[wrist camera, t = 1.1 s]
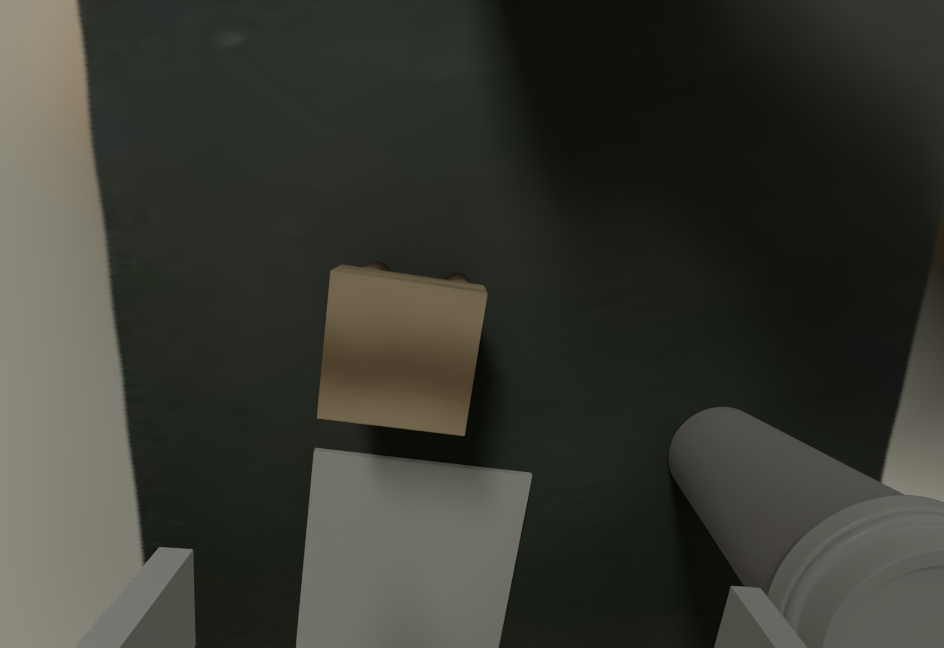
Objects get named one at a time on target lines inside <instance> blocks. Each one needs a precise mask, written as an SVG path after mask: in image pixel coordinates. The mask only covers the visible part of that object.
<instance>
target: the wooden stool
mask: <svg viewBox="0 0 944 648" xmlns="http://www.w3.org/2000/svg"><path fill="white" fill-rule="evenodd" d="M486 299H487V291H486V289H485V287H484V285H478V284H472V283H471V282H470V280H469V279H468V278H467V277H466V276H464V275H462V274H451V275H449V276H448V277H447V278H446V279H445V280H444V279H437V278H430V277H423V276H416V275H409V274H403V273H396V272H391V271H390V269H389V268H388V267H387V266H386V265H385V264H383V263H381V262H371V263H369V264H367V265H366V266H364V267H363V268H361V267H354V266H347V265H341V266H339V267H337V268H335V269H333V270H331V272H330V283H329V294H328V304H327V315H326V326H325V337H324V348H323V359H322V369H321V380H320V391H319V402H318V413H317V418H319V419H328V420H336V421H344V422H353V423H361V424H369V425H377V426H386V427H394V428H402V429H411V430H419V431H427V432H435V433H444V434H452V435H460V436H465V430H466V424H467V417H468V411H469V405H470V399H471V393H472V386H473V380H474V374H475V368H476V361H477V355H478V349H479V343H480V337H481V330H482V324H483V318H484V312H485V305H486Z"/></svg>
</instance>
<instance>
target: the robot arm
mask: <svg viewBox="0 0 944 648" xmlns="http://www.w3.org/2000/svg"><path fill="white" fill-rule="evenodd" d="M194 647H195V608H194V566H193V550H192V549H178V548H163V547H159V548H158V550H157V551H156V552H155V553H154V554H153V555H152V557H151V558H150V559H149V560H148V561H147V563H146V564H145V565H144V566H143V567H142V568H141V570H140V571H139V572H138V573H137V574H136V576H135V577H134V578H133V579H132V580H131V582H130V583H129V584H128V585H127V586H126V587H125V588H124V590H123V591H122V592H121V593H120V594H119V596H118V597H117V598H116V599H115V600H114V602H113V603H112V604H111V605H110V606H109V607H108V608H107V610H106V611H105V612H104V613H103V614H102V616H101V617H100V618H99V619H98V620H97V621H96V623H95V624H94V625H93V626H92V627H91V629H90V630H89V631H88V632H87V633H86V635H85V636H84V637H83V638H82V639H81V640H80V641H79V643H78V644H77V645H76V646H75V647H74V648H194ZM714 648H807V646H806V645H805V644H804V642H803V641H802V640H801V639H800V637H799V636H798V635H797V634H796V632H795V631H794V630H793V629H792V627H791V626H790V625H789V624H788V622H787V621H786V620H785V619H784V617H783V616H782V615H781V614H780V612H779V611H778V610H777V608H776V607H775V606H774V605H773V603H772V602H771V601H770V600H769V598H768V597H767V596H766V595H765V593H764V592H763V591H762V590H761V588H754V587H740V586H731V587H730V591H729V595H728V598H727V602H726V606H725V610H724V613H723V617H722V621H721V624H720V628H719V632H718V635H717V639H716V643H715V647H714Z"/></svg>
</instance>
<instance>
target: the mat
mask: <svg viewBox="0 0 944 648" xmlns="http://www.w3.org/2000/svg"><path fill="white" fill-rule="evenodd" d="M531 479H532V474H531V473H528V472H520V471H511V470H502V469H494V468H485V467H476V466H468V465H459V464H451V463H442V462H433V461H425V460H416V459H408V458H399V457H390V456H382V455H373V454H364V453H356V452H347V451H339V450H330V449H321V448H315V450H314V457H313V468H312V478H311V489H310V500H309V511H308V522H307V533H306V544H305V554H304V565H303V576H302V587H301V598H300V609H299V619H298V630H297V641H296V648H499V643H500V638H501V633H502V628H503V623H504V618H505V613H506V608H507V602H508V597H509V592H510V587H511V582H512V577H513V572H514V567H515V561H516V556H517V551H518V546H519V541H520V536H521V531H522V526H523V520H524V515H525V510H526V505H527V500H528V495H529V490H530V485H531Z"/></svg>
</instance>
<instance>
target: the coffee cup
mask: <svg viewBox="0 0 944 648" xmlns="http://www.w3.org/2000/svg"><path fill="white" fill-rule="evenodd" d="M668 463H669V468H670V471H671V474H672V476H673V477H674V479H675V481H676V482H677V484H678V485H679V487H680V488H681V490H682V491H683V493H684V494H685V496H686V498H687V499H688V501H689V502H690V504H691V505H692V507H693V508H694V510H695V511H696V513H697V514H698V516H699V517H700V519H701V521H702V522H703V524H704V525H705V527H706V528H707V530H708V531H709V533H710V534H711V536H712V537H713V539H714V540H715V542H716V544H717V545H718V547H719V548H720V550H721V551H722V553H723V554H724V556H725V557H726V559H727V560H728V562H729V564H730V565H731V567H732V568H733V570H734V571H735V573H736V574H737V576H738V577H739V579H740V581H741V582H742V584H743V585H744V587H754V588H761V590H762V591H763V592H764V593H765V595H766V596H767V597H768V598H769V600H770V601H771V602H772V603H773V605H774V606H775V607H776V608H777V610H778V611H779V612H780V614H781V615H782V616H783V617H784V619H785V620H786V621H787V622H788V624H789V625H790V626H791V627H792V629H793V630H794V631H795V632H796V634H797V635H798V636H799V637H800V639H801V640H802V641H803V642H804V644H805V645H806V646H807V648H944V503H943V502H941V501H938V500H935V499H931V498H926V497H920V496H911V495H904V494H901V493H900V492H898V491H896V490H894V489H892V488H890V487H888V486H886V485H884V484H882V483H880V482H878V481H876V480H874V479H872V478H870V477H868V476H866V475H865V474H863V473H861V472H859V471H857V470H855V469H853V468H851V467H849V466H847V465H845V464H843V463H841V462H839V461H837V460H835V459H833V458H832V457H830V456H828V455H826V454H824V453H822V452H820V451H818V450H816V449H814V448H812V447H810V446H808V445H806V444H805V443H803V442H801V441H799V440H797V439H795V438H793V437H791V436H789V435H787V434H785V433H783V432H781V431H779V430H778V429H776V428H774V427H772V426H770V425H768V424H766V423H764V422H762V421H760V420H758V419H756V418H755V417H753V416H751V415H749V414H747V413H745V412H743V411H741V410H738V409H735V408H730V407H715V408H710V409H706V410H703V411H701V412H699V413H697V414H695V415H693V416H692V417H690V418H689V419H688V420H687V421H685V422H684V423H683V424H682V425H681V426H680V428H679V429H678V430H677V432H676V433H675V435H674V437H673V439H672V441H671V444H670V447H669V453H668Z"/></svg>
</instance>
